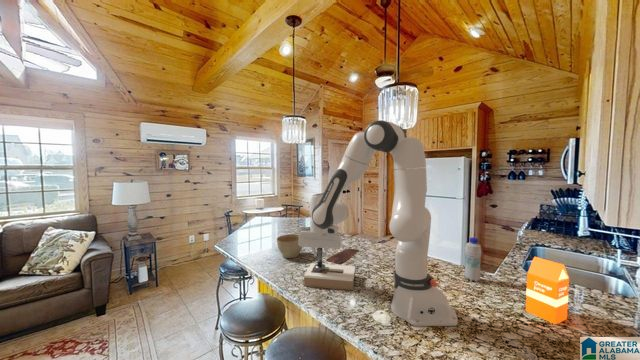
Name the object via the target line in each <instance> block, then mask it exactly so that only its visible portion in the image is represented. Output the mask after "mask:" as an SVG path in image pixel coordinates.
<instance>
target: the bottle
mask: <svg viewBox="0 0 640 360" xmlns="http://www.w3.org/2000/svg"><path fill="white" fill-rule="evenodd" d="M464 254H465V264H464V265H465V267H464V276H465V277H464V278H465V279H466V280H469V281H470V282H473V281H474V282H475V283H477V282H480V280H481V259H482V258H481V257H482V246H481V244H479V240H478V238H477V237H469V242H466V243H465V248H464Z"/></svg>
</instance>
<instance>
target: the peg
mask: <svg viewBox="0 0 640 360" xmlns="http://www.w3.org/2000/svg"><path fill="white" fill-rule="evenodd" d="M316 252H317V258H316V259H317V261H316V262H317V264H316V265H315V270H316V271H324V270H325V265H324V264H325V263H323V257H322V253H323V248H316Z"/></svg>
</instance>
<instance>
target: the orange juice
mask: <svg viewBox="0 0 640 360" xmlns="http://www.w3.org/2000/svg"><path fill="white" fill-rule="evenodd" d="M526 276H527V277H526V289H525V291H526V292H525V294H526V295H525V296H526V297H525V298H526V299H525V312H528V313H529V314H531V315H533V316H536V317H538V318H540V319H542V320H545V321H547V322H548V323H550V324H553V325H557V324H560V323H562V322H564V321H565V320H567V319H568V305H569V304H568V303H569V287H570V277H569V275H568V272H567V270H566V267H565V264H562V263H559V262H555V261H552V260H548V259H545V258H541V257H538V256H534V257H533V258H532V262H531V263H530V266H529V268H528V270H527V274H526Z"/></svg>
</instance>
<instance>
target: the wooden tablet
mask: <svg viewBox="0 0 640 360" xmlns="http://www.w3.org/2000/svg"><path fill="white" fill-rule="evenodd" d="M358 252H359V249H356V248H346V249H343V250H341V251H339V252H337V253H335V254H333V255H332V256H329V257H327V259H326V262H330V263H334V264H335V265H341V264H342V263H344V262H347V261H348V260H349V259H350V258H351V257H353V256H354V255H356V254H357V253H358Z"/></svg>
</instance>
